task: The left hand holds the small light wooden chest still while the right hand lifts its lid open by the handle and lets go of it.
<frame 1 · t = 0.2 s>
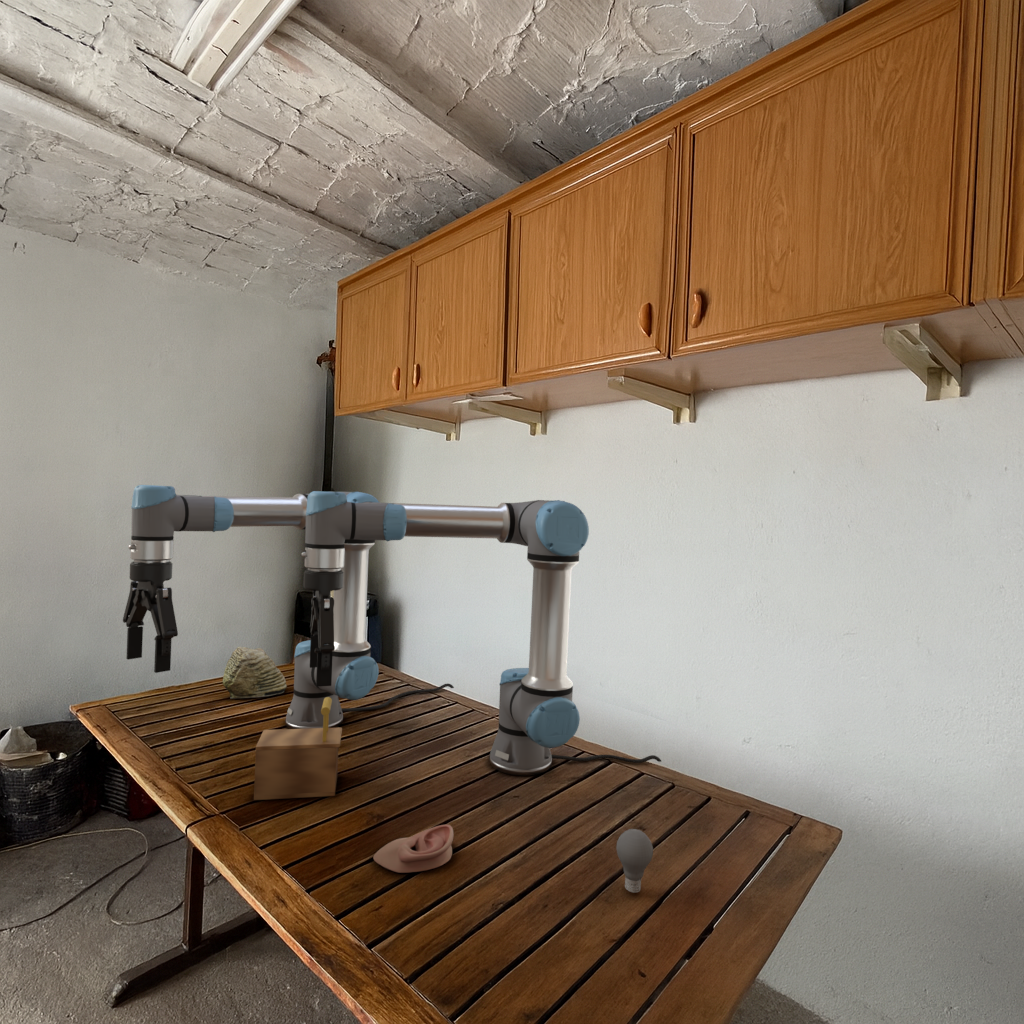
left hand: (147, 664, 129), 28 cm above the table, tool pointing down, fingers open, 13 cm apart
right hand: (319, 676, 126), 28 cm above the table, tool pointing down, fingers open, 13 cm apart
chest: (297, 787, 137), on the table
anatomical model: (413, 856, 113), on the table
light bulb: (632, 891, 106), on the table
fossil: (254, 694, 198), on the table
lid: (301, 721, 137), point 15 cm above the table, hinge at 0.0°
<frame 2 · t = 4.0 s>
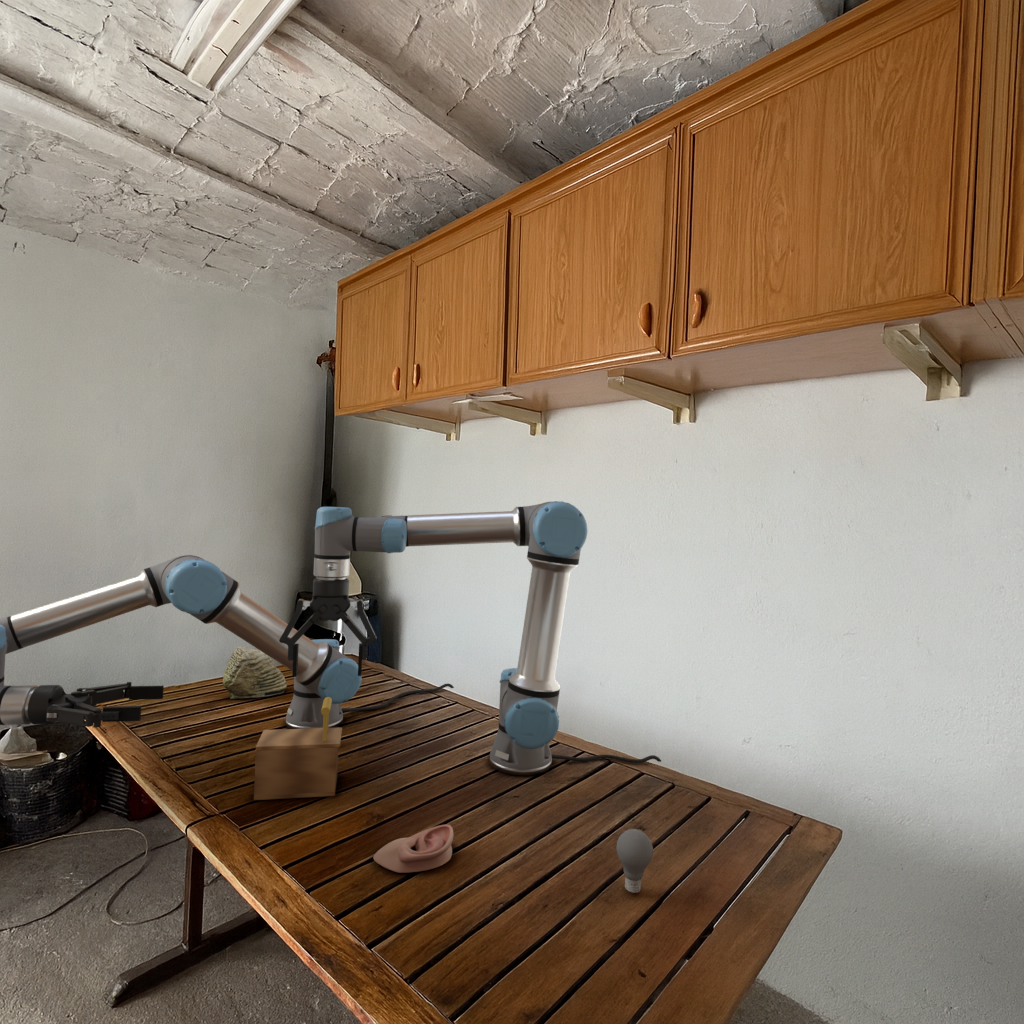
left hand: (152, 702, 131), 19 cm above the table, tool horizontal, fingers open, 13 cm apart
right hand: (327, 674, 138), 25 cm above the table, tool pointing down, fingers open, 13 cm apart
nothing on the table moved.
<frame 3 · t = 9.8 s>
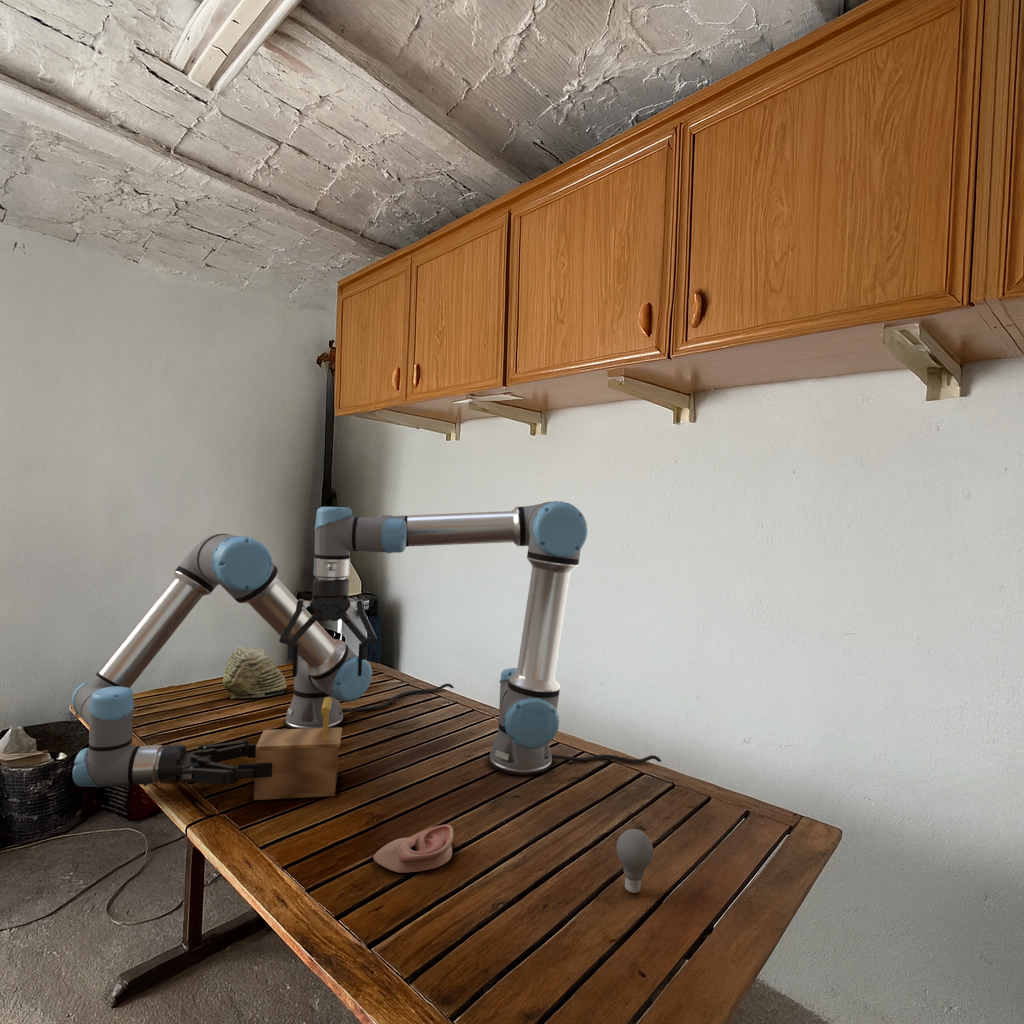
left hand: (275, 759, 136), 6 cm above the table, tool horizontal, fingers closed on chest, 10 cm apart
right hand: (327, 674, 138), 25 cm above the table, tool pointing down, fingers open, 13 cm apart
chest: (297, 787, 137), on the table, touching left hand
everything else where it was.
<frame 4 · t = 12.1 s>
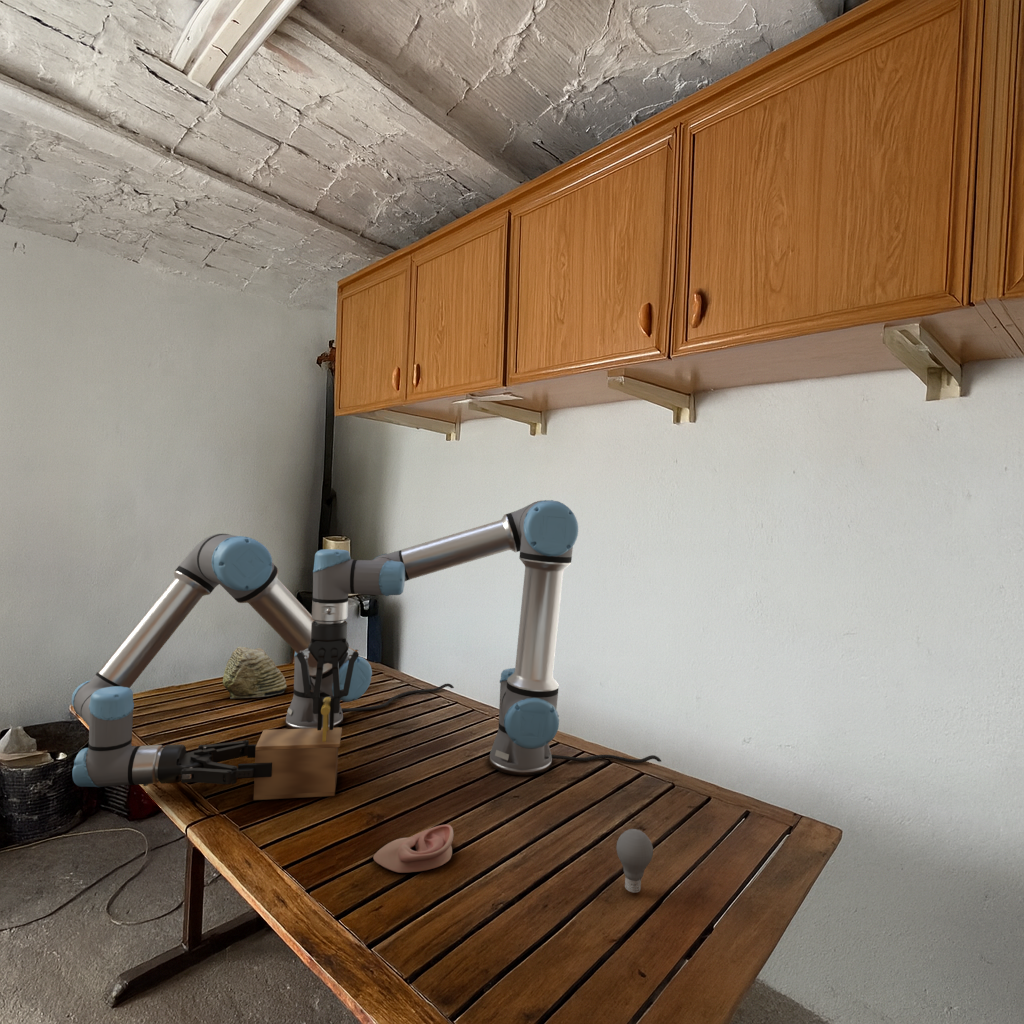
left hand: (275, 759, 136), 6 cm above the table, tool horizontal, fingers closed on chest, 10 cm apart
right hand: (325, 727, 138), 13 cm above the table, tool pointing down, fingers closed on lid, 2 cm apart
chest: (297, 787, 137), on the table, touching left hand
lid: (301, 721, 137), point 15 cm above the table, hinge at 0.0°, touching right hand
everything else where it was.
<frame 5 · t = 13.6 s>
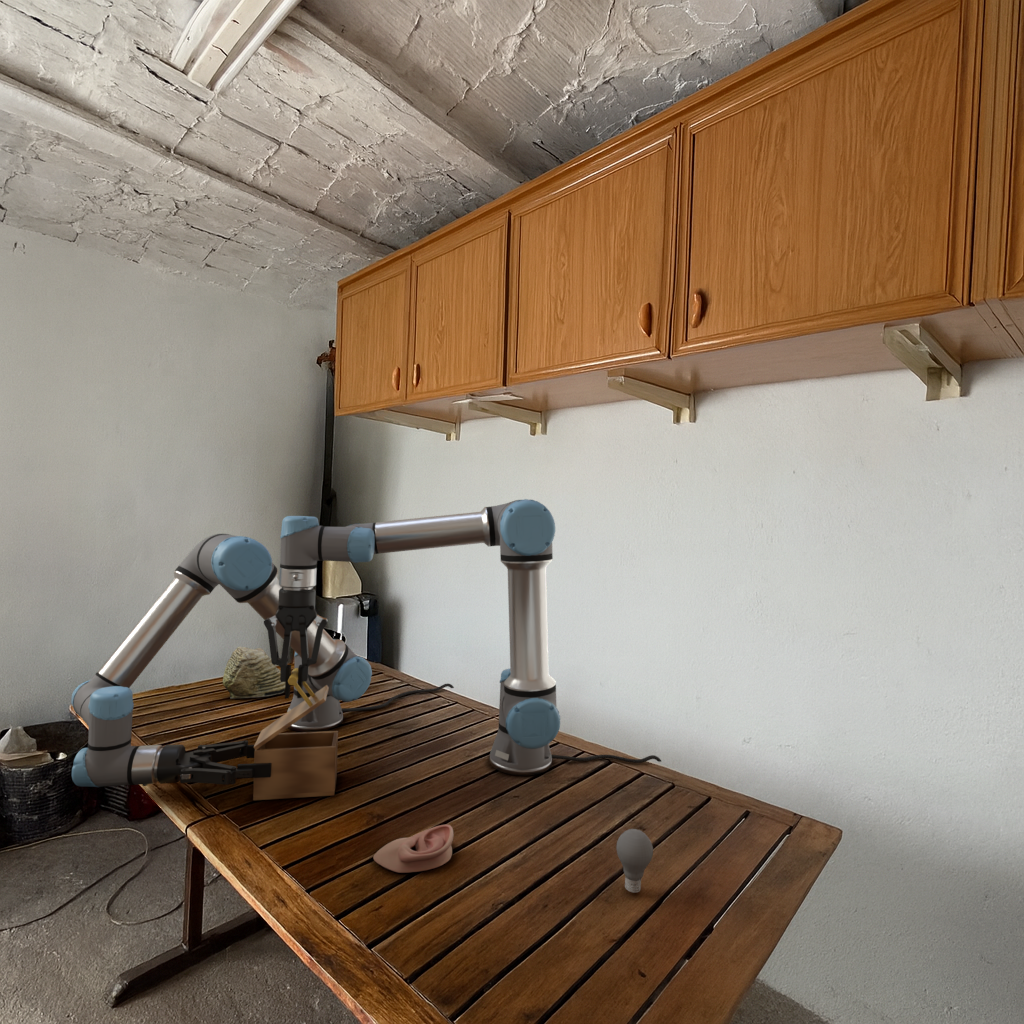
left hand: (274, 759, 136), 6 cm above the table, tool horizontal, fingers closed on chest, 10 cm apart
right hand: (293, 696, 137), 20 cm above the table, tool pointing down, fingers closed on lid, 2 cm apart
chest: (296, 787, 137), on the table, touching left hand
lid: (282, 702, 136), point 19 cm above the table, hinge at 35.6°, touching right hand
everything else where it was.
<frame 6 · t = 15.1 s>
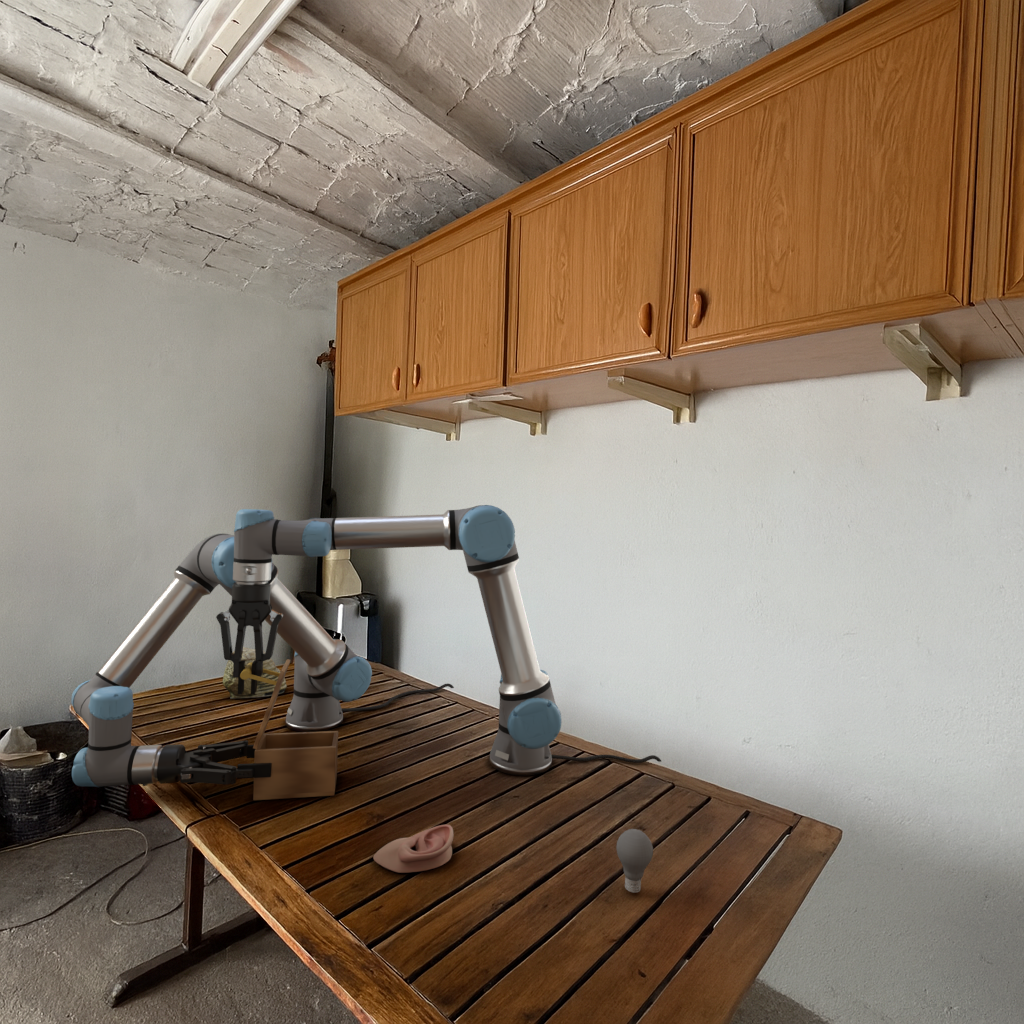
left hand: (274, 759, 136), 6 cm above the table, tool horizontal, fingers closed on chest, 10 cm apart
right hand: (247, 692, 135), 21 cm above the table, tool pointing down, fingers closed
chest: (297, 787, 137), on the table, touching left hand
lid: (254, 697, 135), point 20 cm above the table, hinge at 72.4°
everything else where it was.
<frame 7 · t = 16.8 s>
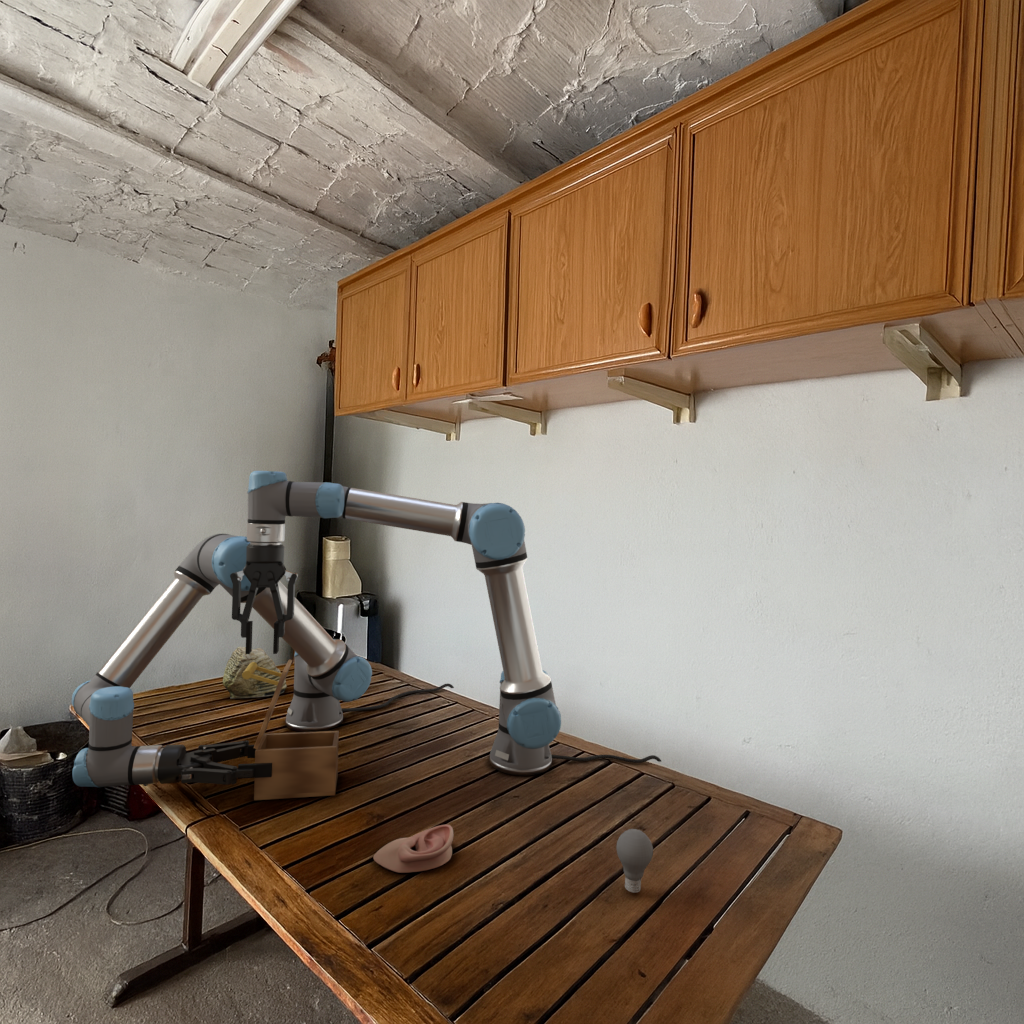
left hand: (275, 759, 136), 6 cm above the table, tool horizontal, fingers closed on chest, 10 cm apart
right hand: (262, 652, 135), 30 cm above the table, tool pointing down, fingers open, 5 cm apart
chest: (297, 787, 137), on the table, touching left hand
lid: (256, 697, 135), point 20 cm above the table, hinge at 71.3°
everything else where it was.
when the left hand's fingers open (6 cm above the table, at t = 19.2 s): chest stays where it is, on the table.
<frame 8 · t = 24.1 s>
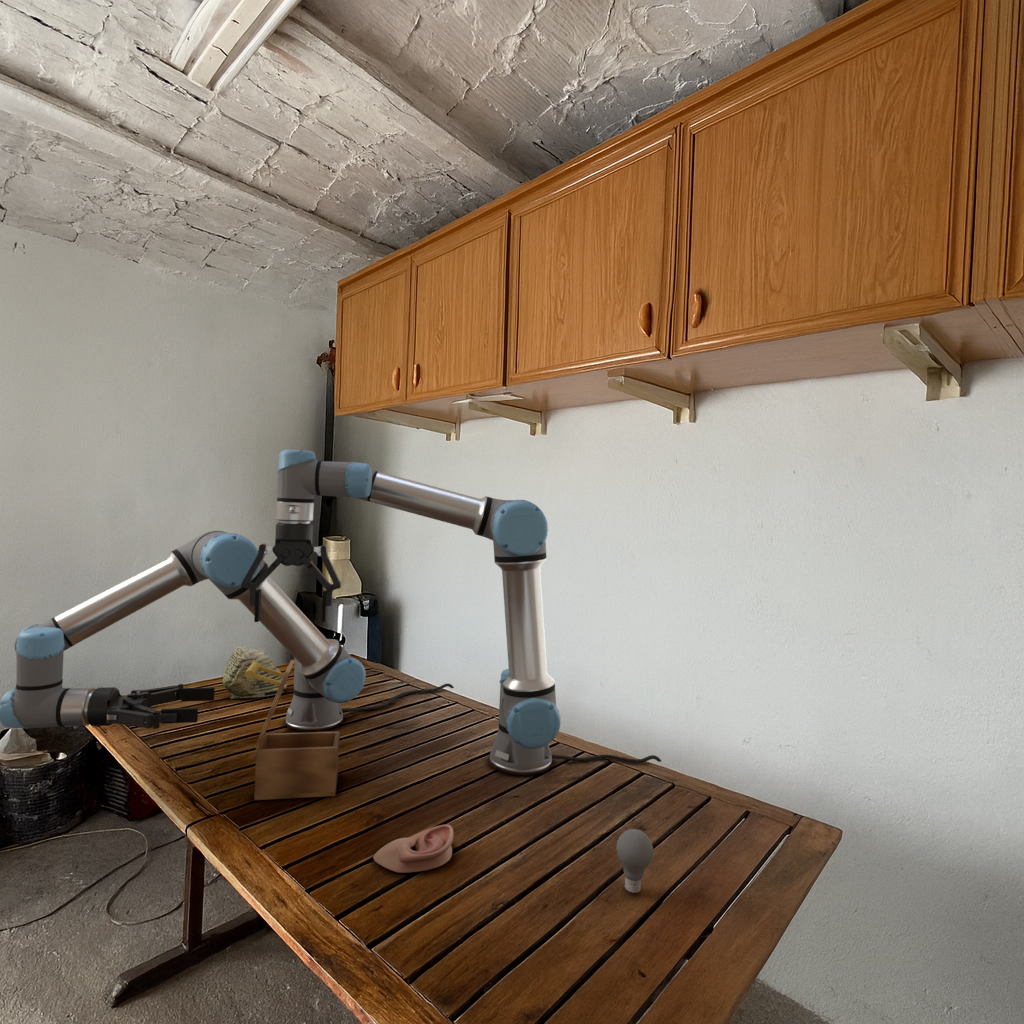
left hand: (206, 704, 133), 19 cm above the table, tool horizontal, fingers open, 13 cm apart
right hand: (290, 621, 136), 36 cm above the table, tool pointing down, fingers open, 13 cm apart
chest: (297, 787, 137), on the table
lid: (258, 697, 135), point 20 cm above the table, hinge at 70.8°
everything else where it was.
at the end: lid at +71° (first picture: +0°); the left hand is holding nothing; the right hand is holding nothing; chest tilted 0°; chest never tilted more than 1° during the clip; chest moved 0.1 cm from its start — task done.
